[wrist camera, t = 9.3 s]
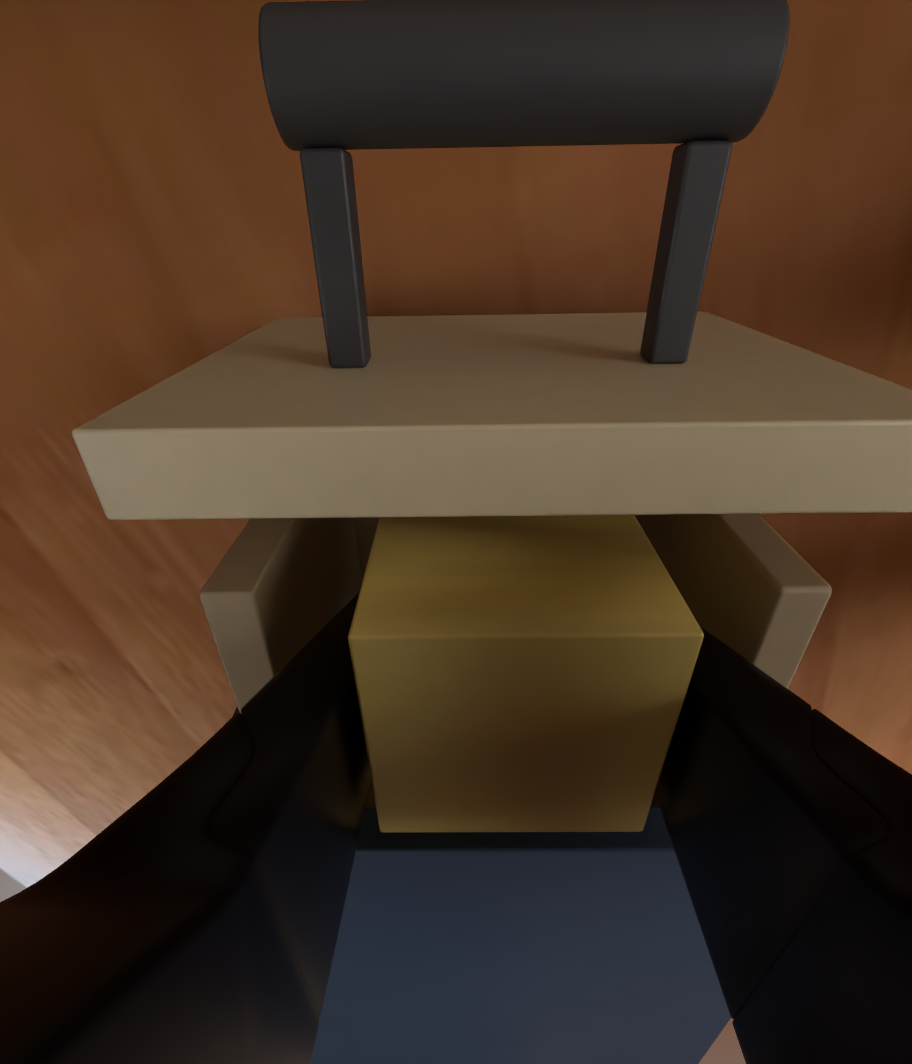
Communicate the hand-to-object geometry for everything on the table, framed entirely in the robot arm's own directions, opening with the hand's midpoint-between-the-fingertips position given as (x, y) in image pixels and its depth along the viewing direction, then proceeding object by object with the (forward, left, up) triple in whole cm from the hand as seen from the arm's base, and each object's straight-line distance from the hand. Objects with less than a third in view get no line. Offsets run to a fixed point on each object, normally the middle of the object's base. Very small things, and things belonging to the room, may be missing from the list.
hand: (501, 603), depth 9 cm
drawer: (0, +1, -6) cm, 6 cm away
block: (0, 0, -1) cm, 1 cm away
